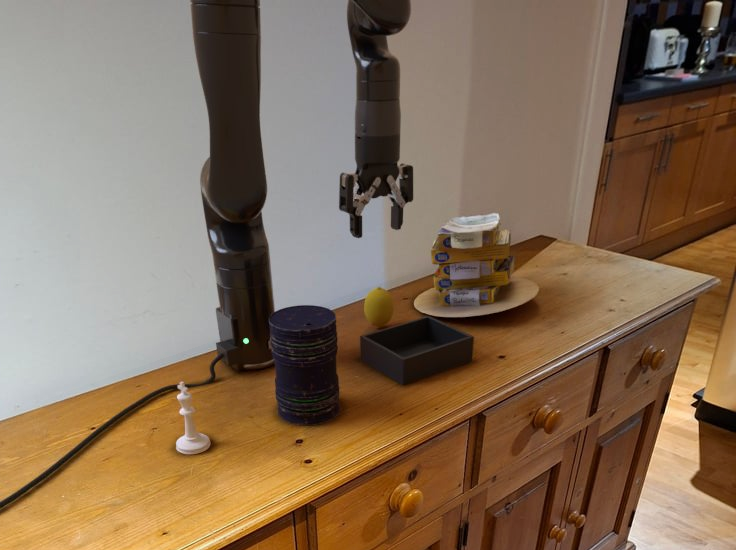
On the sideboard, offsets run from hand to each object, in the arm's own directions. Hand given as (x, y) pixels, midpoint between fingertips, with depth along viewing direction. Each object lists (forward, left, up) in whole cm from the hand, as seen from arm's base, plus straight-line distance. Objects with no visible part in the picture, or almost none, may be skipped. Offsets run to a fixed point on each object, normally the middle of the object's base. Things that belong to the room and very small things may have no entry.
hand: (376, 232), depth 125 cm
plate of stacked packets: (+23, -2, -18) cm, 29 cm away
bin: (-4, -16, -18) cm, 24 cm away
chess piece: (-47, -19, -18) cm, 54 cm away
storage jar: (-28, -20, -18) cm, 39 cm away
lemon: (0, -1, -18) cm, 18 cm away
